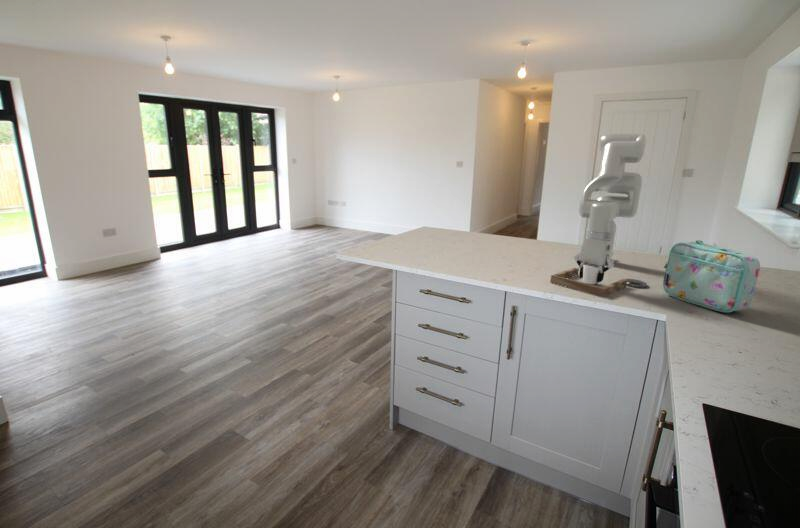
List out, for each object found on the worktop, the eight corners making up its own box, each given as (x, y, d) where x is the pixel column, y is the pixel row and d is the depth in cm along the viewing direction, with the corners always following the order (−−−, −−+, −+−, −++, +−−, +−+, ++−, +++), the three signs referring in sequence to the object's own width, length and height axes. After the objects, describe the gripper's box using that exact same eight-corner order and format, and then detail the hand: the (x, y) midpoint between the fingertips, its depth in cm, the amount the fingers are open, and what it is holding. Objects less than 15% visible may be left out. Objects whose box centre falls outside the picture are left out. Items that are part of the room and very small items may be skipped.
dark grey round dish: (626, 279, 168) (626, 277, 168) (650, 285, 161) (650, 282, 161) (617, 283, 162) (617, 281, 162) (641, 289, 156) (641, 287, 156)
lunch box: (654, 292, 153) (665, 236, 148) (672, 289, 157) (684, 235, 151) (731, 319, 129) (748, 254, 124) (751, 315, 133) (768, 251, 127)
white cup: (601, 285, 158) (604, 268, 156) (582, 283, 159) (585, 266, 157) (597, 279, 164) (599, 263, 162) (579, 278, 165) (581, 262, 163)
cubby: (574, 274, 174) (575, 267, 173) (625, 287, 159) (627, 279, 158) (550, 282, 162) (551, 275, 161) (603, 297, 146) (604, 289, 146)
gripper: (625, 238, 152) (617, 283, 157) (580, 230, 165) (574, 272, 170) (616, 240, 148) (608, 287, 153) (571, 232, 160) (565, 276, 165)
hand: (590, 279), depth 161 cm, fingers closed on white cup, 6 cm apart
